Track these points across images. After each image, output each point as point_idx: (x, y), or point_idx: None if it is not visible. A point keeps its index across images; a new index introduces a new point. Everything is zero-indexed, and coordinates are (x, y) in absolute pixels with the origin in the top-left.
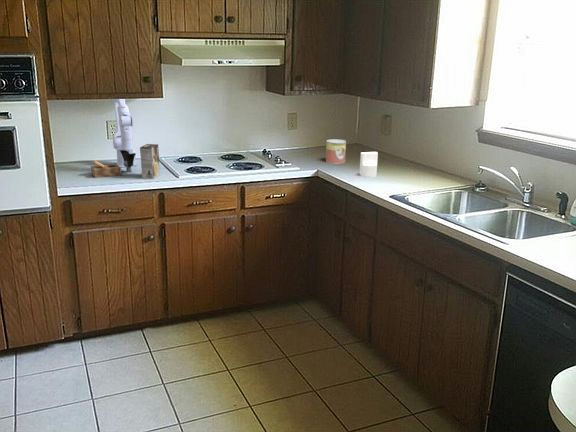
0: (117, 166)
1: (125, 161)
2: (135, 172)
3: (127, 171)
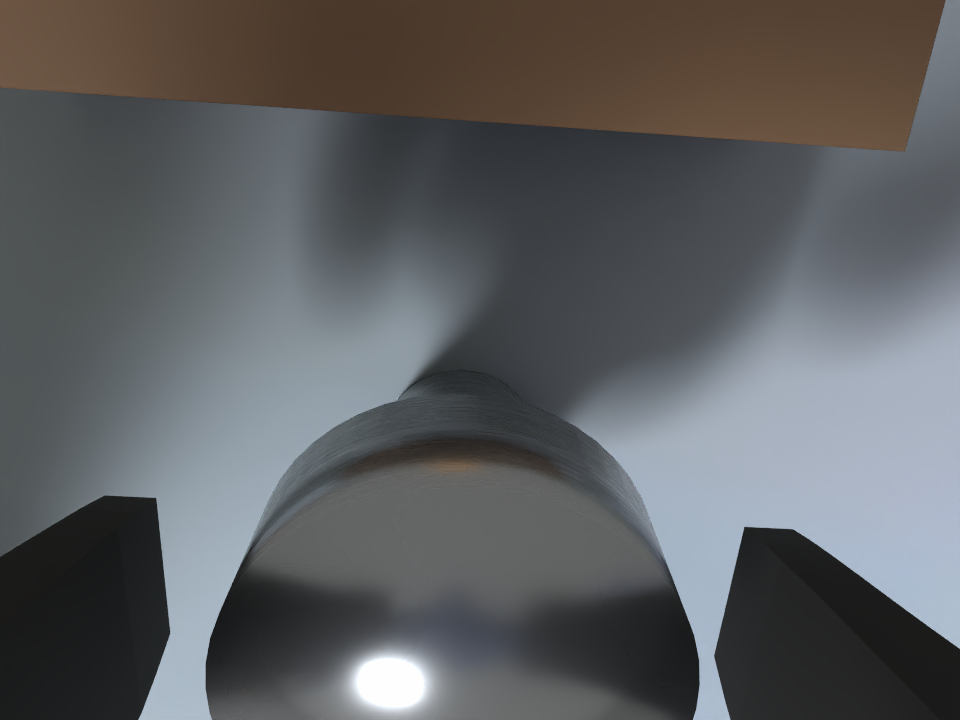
0: (200, 2)
1: (491, 587)
2: None
3: (414, 394)
